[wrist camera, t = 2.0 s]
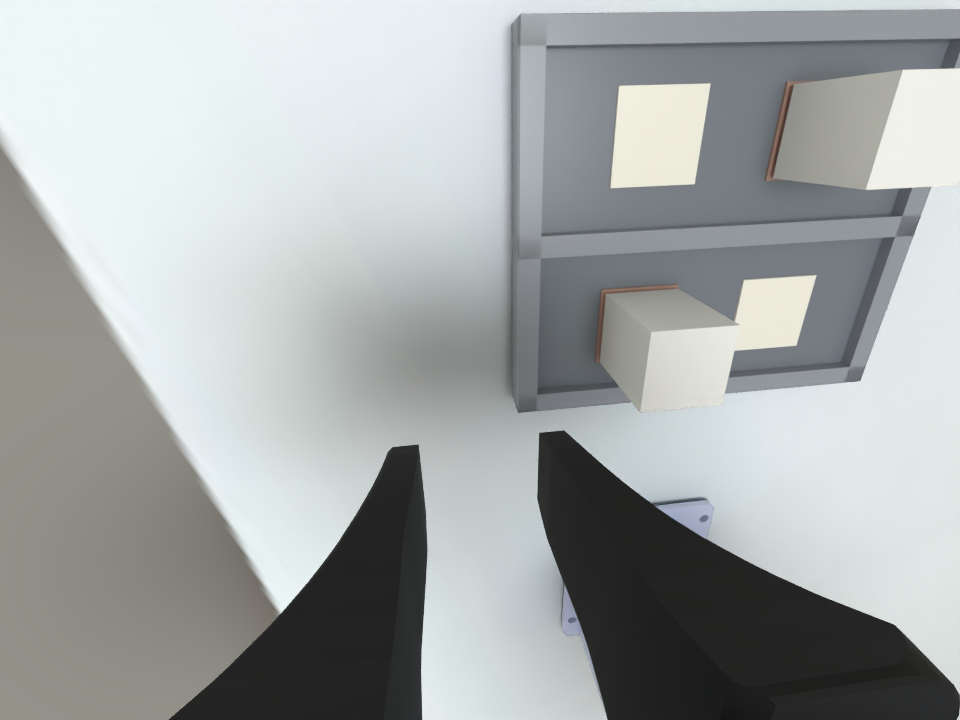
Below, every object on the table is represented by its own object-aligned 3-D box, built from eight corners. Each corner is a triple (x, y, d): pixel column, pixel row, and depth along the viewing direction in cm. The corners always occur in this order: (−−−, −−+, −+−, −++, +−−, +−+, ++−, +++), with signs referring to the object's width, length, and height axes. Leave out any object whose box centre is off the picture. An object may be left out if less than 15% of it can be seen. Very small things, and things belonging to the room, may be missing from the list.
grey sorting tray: (834, 366, 23) (860, 381, 22) (512, 395, 21) (518, 412, 20) (950, 18, 17) (996, 8, 16) (511, 24, 15) (520, 13, 14)
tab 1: (667, 356, 20) (722, 404, 16) (599, 362, 20) (640, 412, 16) (678, 288, 19) (740, 325, 15) (605, 293, 18) (651, 332, 15)
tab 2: (847, 174, 18) (957, 185, 14) (773, 178, 17) (865, 190, 14) (874, 82, 16) (1003, 67, 13) (793, 84, 16) (903, 70, 12)
